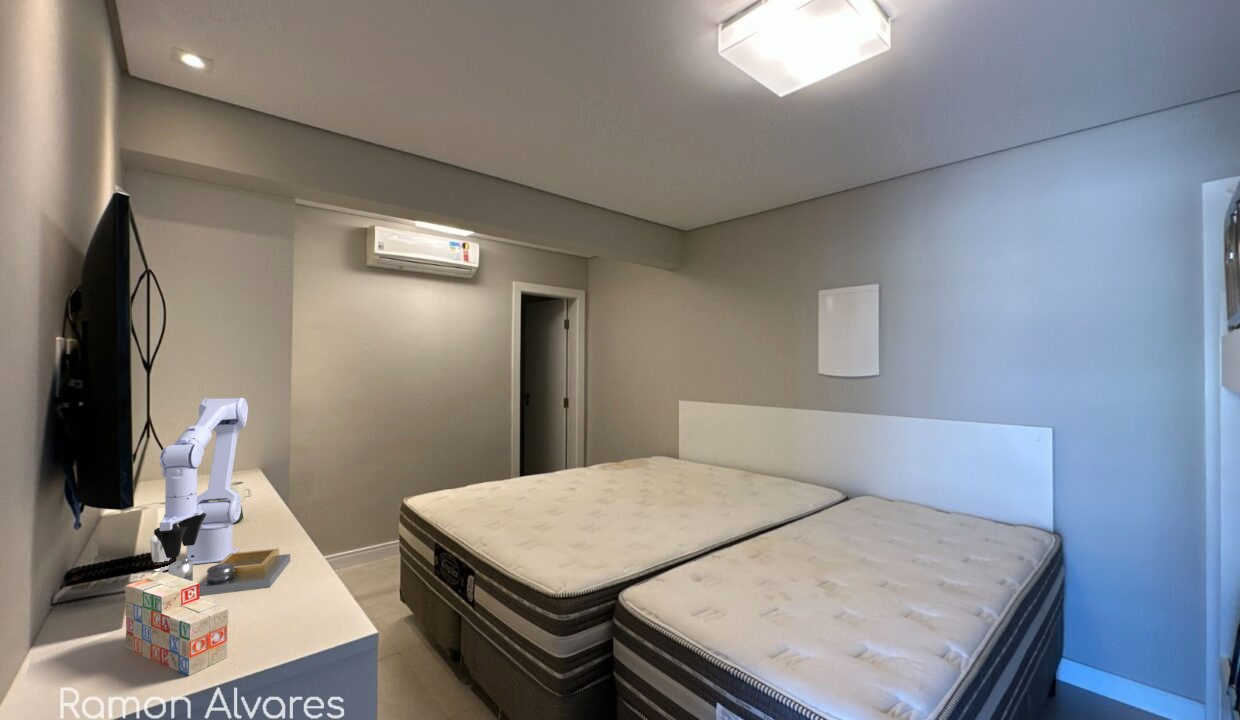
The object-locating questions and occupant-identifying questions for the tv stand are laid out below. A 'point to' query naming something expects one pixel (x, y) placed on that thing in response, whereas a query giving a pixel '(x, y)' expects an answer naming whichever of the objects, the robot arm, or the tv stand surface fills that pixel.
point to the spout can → (182, 569)
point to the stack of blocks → (174, 623)
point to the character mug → (240, 493)
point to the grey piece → (245, 571)
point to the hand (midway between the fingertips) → (181, 551)
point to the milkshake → (158, 552)
